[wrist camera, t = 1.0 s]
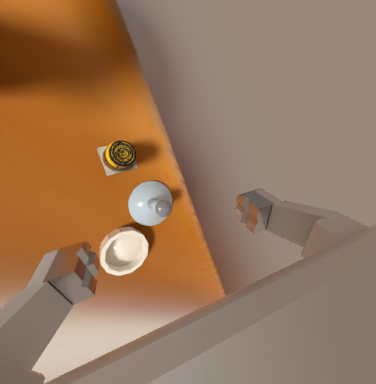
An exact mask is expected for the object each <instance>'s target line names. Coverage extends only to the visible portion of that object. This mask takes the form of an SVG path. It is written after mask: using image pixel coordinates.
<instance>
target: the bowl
mask: <svg viewBox="0 0 376 384" xmlns="http://www.w3.org/2000/svg"><path fill="white" fill-rule="evenodd" d="M147 254H148V242H147V240H146V239H145V237H144V235H143V234H142V233H141V232H140V231H139V230H137V229H135V228H133V227H119V228H117V229H115V230H113V231H112V232H110V233H108V235H106V237H105V238H104V240H103V241H102V243H101V244H100V255H99V257H100V263H101V265H102V267H103V268H104V269H105V271H106V272H107V273H110V274H113V275H117V276H118V275H119V276H120V275H124V274H128V273H131V272H133V271H134V270H135V269H137V268H138V267H139V266H141V265H142V263H143V261H144V260H145V258H146V256H147Z"/></svg>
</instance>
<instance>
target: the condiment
mask: <svg viewBox="0 0 376 384" xmlns="http://www.w3.org/2000/svg"><path fill="white" fill-rule="evenodd" d="M97 151H98V153H99V156H100V159H101V161H102V164H103V167H104V169H105V172H106V174H107V176H108V175H112V174H116V173H120V172H124V171H127V170H131V169H135V168H138V166H137V163H136V160H135V159H136V151H135V149H134V147H133V146H132V145H131V144H130V142H126V141H115V142H112V143H111V144H110V145H108V146H105V147H99V148H97Z"/></svg>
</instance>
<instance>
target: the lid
mask: <svg viewBox="0 0 376 384" xmlns="http://www.w3.org/2000/svg"><path fill="white" fill-rule="evenodd" d="M128 209H129V212H130V214H131V216H132V218H133V219H134V220H135V221H137V222H138V223H140V224H142V225H146V226H152V225H156V224H158V223H160V222H162V221H163V220H164V219H165V218H166V217H167V216H168V215H169V214H170V213H171V211H172V195H171V193H170V191H169V189H168V188H167V187H166V186H165V185H164V184H162V183H160V182H157V181H146V182H143V183H141V184H139V185H138V186H136V187H135V188H134V190H133V191H132V192H131V194H130V197H129V200H128Z"/></svg>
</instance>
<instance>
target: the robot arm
mask: <svg viewBox="0 0 376 384" xmlns="http://www.w3.org/2000/svg"><path fill="white" fill-rule="evenodd" d="M236 202H237V203H238V204H237V206H236V211H235V212H236V215H237V217H238V219H239V220H240V221H241V222H244V223H246V227H247V228H248V229H249V230H250V231H251V232H252V233H253V234H256V233H259V232H262V231H264V230H267V231H269V232H271V233H273V234H276V235H278V236H280V237H282V238H285V239H286V240H289V241H291V242H293V243H296V244H298V245H300V246H302V247H304V248H303V250H302V252H301V256H302V257H303V258H304V259H302V260H300V261H298V262H296V263H293V264H292V265H289V266H287V267H285V268H283V269H281V270H279V271H277V272H275V273H273V274H271V275H269V276H266V277H265V278H262V279H260V280H258V281H256V282H254V283H252V284H250V285H248V286H246V287H244V288H242V289H240V290H237V291H235V292H233V293H231V294H229V295H227V296H225V297H223V298H221V299H219V300H217V301H215V302H212V303H210V304H208V305H206V306H204V307H202V308H200V309H198V310H196V311H194V312H192V313H190V314H188V315H185V316H183V317H181V318H179V319H177V320H175V321H173V322H171V323H169V324H167V325H165V326H163V327H161V328H158V329H156V330H154V331H152V332H150V333H148V334H146V335H144V336H142V337H140V338H138V339H136V340H134V341H132V342H129V343H127V344H125V345H123V346H121V347H119V348H117V349H115V350H113V351H111V352H109V353H107V354H105V355H102V356H100V357H98V358H96V359H94V360H92V361H90V362H88V363H86V364H84V365H82V366H80V367H78V368H76V369H73V370H71V371H69V372H67V373H65V374H63V375H61V376H59V377H57V378H55V379H53V380H51V381H49V382H46V383H44V379H45V377H44V375H43V374H41V373H38V372H35V371H33V370H32V368H33V367H34V365H35V363H36V362H37V360H38V359H39V357H40V356H41V354H42V353H43V351H44V350H45V348H46V347H47V345H48V344H49V342H50V341H51V339H52V337H53V336H54V334H55V333H56V331H57V330H58V328H59V327H60V325H61V324H62V322H63V321H64V319H65V318H66V316H67V315H68V313H69V311H70V310H71V308H72V307H73V305H74V304H76V303H79V302H81V301H83V300H86V299H88V298H91V297H93V296H95V291H96V285H97V280H96V279H95V276H96V275H97V274H98V272H99V267H100V266H99V259H98V256H97V254H96V253H95V252H92V251H90V250H91V245H90V244H89V242H86V241H85V242H81V243H77V244H74V245H70V246H67V247H63V248H61V249H57V250H53V251H50V252H48V253H46V254H45V255H44V257H43V258H42V260H41V262H40V264H39V266H38V267H37V269H36V271H35V273H34V275H33V276H32V278H31V280H30V282H29V283H28V285H27V287H26V289H24V290H21V291H20V292H18V293H17V294H16V295H15V296H14V297H13V298H12V299H11V300H10V301H8V302H7V303H6V304H5V305H4V306H3V307H2V308H1V309H0V384H43V383H44V384H376V224H375V225H372V226H370V227H367V226H365V225H363V224H361V223H359V222H357V221H355V220H353V219H350V218H349V217H347V216H345V215H343V214H341V213H339V212H337V211H332V210H327V209H322V208H318V207H313V206H308V205H304V204H299V203H294V202H290V201H285V200H284V201H281V200H280V199H278V198H276V197H275V196H273V195H271V194H270V193H268V192H266V191H265V190H263V189H260V188H259V189H256V190H253V191H250V192H247V193H244V194H241V195H238V196H237V198H236Z"/></svg>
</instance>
